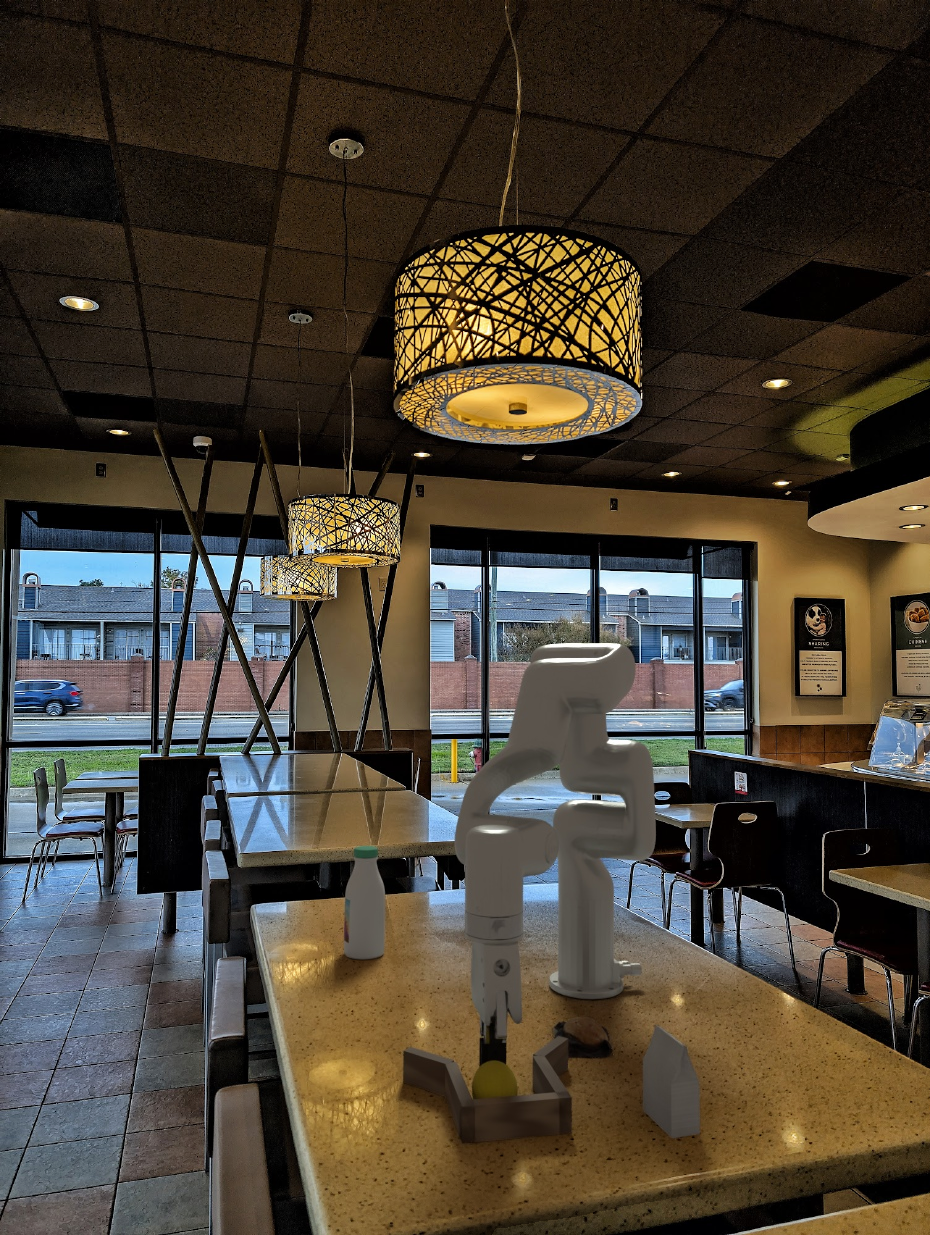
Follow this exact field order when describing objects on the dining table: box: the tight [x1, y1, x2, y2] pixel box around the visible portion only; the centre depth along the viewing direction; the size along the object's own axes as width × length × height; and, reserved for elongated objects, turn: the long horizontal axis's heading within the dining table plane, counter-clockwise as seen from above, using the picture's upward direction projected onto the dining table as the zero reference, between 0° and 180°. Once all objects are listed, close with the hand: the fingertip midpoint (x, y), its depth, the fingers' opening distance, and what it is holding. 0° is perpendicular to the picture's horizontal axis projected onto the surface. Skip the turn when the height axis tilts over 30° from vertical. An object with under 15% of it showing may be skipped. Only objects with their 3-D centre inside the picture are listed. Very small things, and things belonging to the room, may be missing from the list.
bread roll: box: [551, 1016, 615, 1059], centre depth 126 cm, size 11×8×4 cm
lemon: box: [471, 1061, 519, 1099], centre depth 105 cm, size 6×6×8 cm
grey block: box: [642, 1024, 701, 1139], centre depth 104 cm, size 4×7×10 cm, turn 17°
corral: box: [402, 1036, 573, 1144], centre depth 108 cm, size 22×17×4 cm
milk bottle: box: [343, 845, 386, 960], centre depth 166 cm, size 8×8×20 cm
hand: (492, 1071), depth 110 cm, fingers closed
